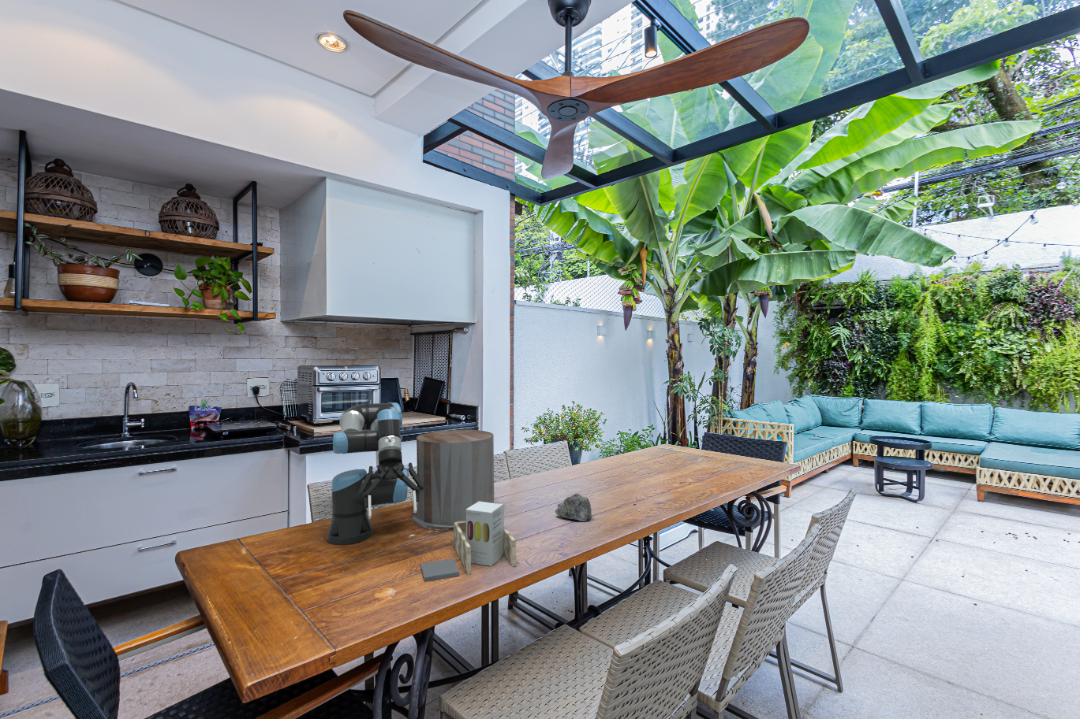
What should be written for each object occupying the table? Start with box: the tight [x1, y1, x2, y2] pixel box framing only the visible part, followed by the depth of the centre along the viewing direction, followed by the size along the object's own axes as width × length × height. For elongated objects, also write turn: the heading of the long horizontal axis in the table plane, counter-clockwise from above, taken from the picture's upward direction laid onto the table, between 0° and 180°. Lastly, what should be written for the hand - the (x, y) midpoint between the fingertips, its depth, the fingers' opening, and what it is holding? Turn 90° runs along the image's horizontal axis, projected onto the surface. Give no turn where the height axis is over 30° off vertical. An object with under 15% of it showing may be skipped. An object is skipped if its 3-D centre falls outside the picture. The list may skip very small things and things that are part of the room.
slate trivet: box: [420, 558, 460, 583], centre depth 146 cm, size 10×10×1 cm
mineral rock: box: [554, 493, 593, 522], centre depth 192 cm, size 13×11×10 cm
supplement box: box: [466, 501, 505, 567], centre depth 155 cm, size 10×9×17 cm
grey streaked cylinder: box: [411, 429, 495, 530], centre depth 196 cm, size 35×35×32 cm
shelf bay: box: [453, 521, 517, 575], centre depth 157 cm, size 23×15×8 cm, turn 20°
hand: (393, 514), depth 152 cm, fingers open, 13 cm apart
